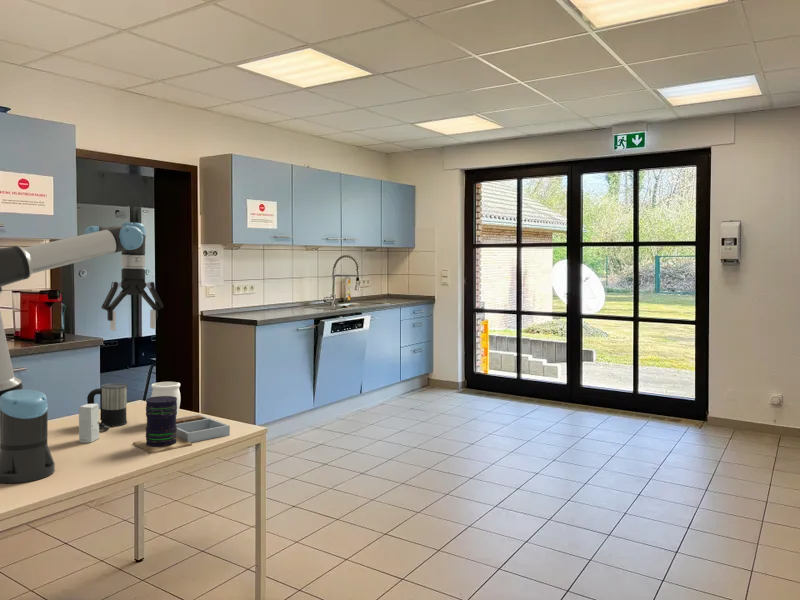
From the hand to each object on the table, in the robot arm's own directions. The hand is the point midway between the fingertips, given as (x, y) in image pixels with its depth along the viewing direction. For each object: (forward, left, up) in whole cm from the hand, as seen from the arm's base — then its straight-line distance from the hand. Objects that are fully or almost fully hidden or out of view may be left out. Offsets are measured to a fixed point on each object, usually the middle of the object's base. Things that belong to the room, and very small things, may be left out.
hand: (133, 329), depth 215 cm
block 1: (+14, -1, -38) cm, 41 cm away
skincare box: (-12, +6, -38) cm, 41 cm away
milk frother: (-1, +20, -38) cm, 43 cm away
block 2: (+19, -1, -38) cm, 42 cm away
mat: (+4, -15, -38) cm, 41 cm away
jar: (+18, +12, -38) cm, 44 cm away
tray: (+19, -8, -38) cm, 43 cm away
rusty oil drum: (+3, -15, -37) cm, 40 cm away
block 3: (+23, -1, -38) cm, 44 cm away
